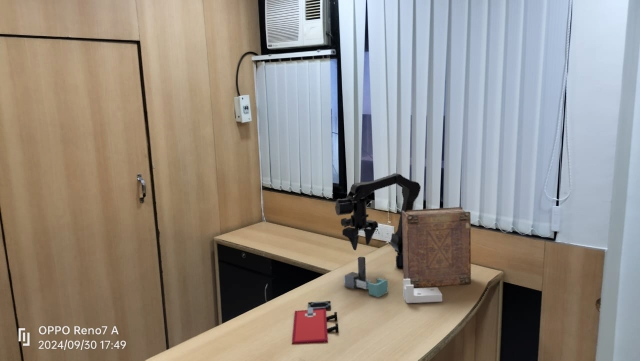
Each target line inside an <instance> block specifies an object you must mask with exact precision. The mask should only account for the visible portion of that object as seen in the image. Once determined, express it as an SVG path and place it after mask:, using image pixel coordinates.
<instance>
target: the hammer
mask: <svg viewBox="0 0 640 361" xmlns="http://www.w3.org/2000/svg"><path fill="white" fill-rule="evenodd" d="M366 265H367V264H366V257H365V256H359V257H357V271H358V272H357V273H358V277H357V278H355V286H356V287H358V288H360V289H364V290H369V283H372V282H371V281H372V280H371V279H368V278H367V275H366V274H367V272H366V270H367V268H366V267H367V266H366ZM343 284H345V275H343Z"/></svg>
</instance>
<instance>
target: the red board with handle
mask: <svg viewBox="0 0 640 361" xmlns="http://www.w3.org/2000/svg"><path fill="white" fill-rule="evenodd" d="M331 302H332V301H331V300H325V301H309V302H307V309H305V310H304V309H302V310H294V318H293V330H292V340H291V344H292V345H299V344H300V345H301V344H320V343H328V342H329V340H328V338H329V337H328V333H331V332H334V331H335V333H337V334H339V333H340V332H339V328H340V327H339V323H338V312H337V311H335V312H333V314H331V315H329V316H327V309H329V310H330V309H332V304H331ZM330 320H334V322H337V323H334V324H335V326H331V327H328V321H330Z"/></svg>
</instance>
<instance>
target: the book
mask: <svg viewBox="0 0 640 361" xmlns="http://www.w3.org/2000/svg"><path fill="white" fill-rule="evenodd" d="M471 218H472V217H471V212H470V211H469V210H468V211H465V210H463V207H462V206H458V207H457V206H454V207H440V208H439V207H437V208H424V209H423V208H422V209H412V210H405V211H402V233H403V269H402V270H403V279H410V283H411V285H414V289H415V288H436V287H437V288H438V287H448V286H449V287H450V286H464V285H471V283H472V282H471V280H472V276H471V274H472V273H471V272H472V266H471V265H472V262H471V261H472V257H471V256H472V253H471V252H472V251H471V250H472V249H471V248H472V245H471V239H472V238H471V236H472V235H471V230H472V229H471V226H472V225H471V221H472V219H471Z"/></svg>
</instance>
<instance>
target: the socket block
mask: <svg viewBox="0 0 640 361" xmlns="http://www.w3.org/2000/svg"><path fill="white" fill-rule="evenodd" d="M388 285H389V284H388V279H386V278H385V279H382V278H377V279H376V283H373V282H371V283H369V288H368V295H369V296H373V297H376V298H380V297H382V296H383V295H385V294H387V293H388V292H389V291H388V290H389V288H388Z"/></svg>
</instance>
